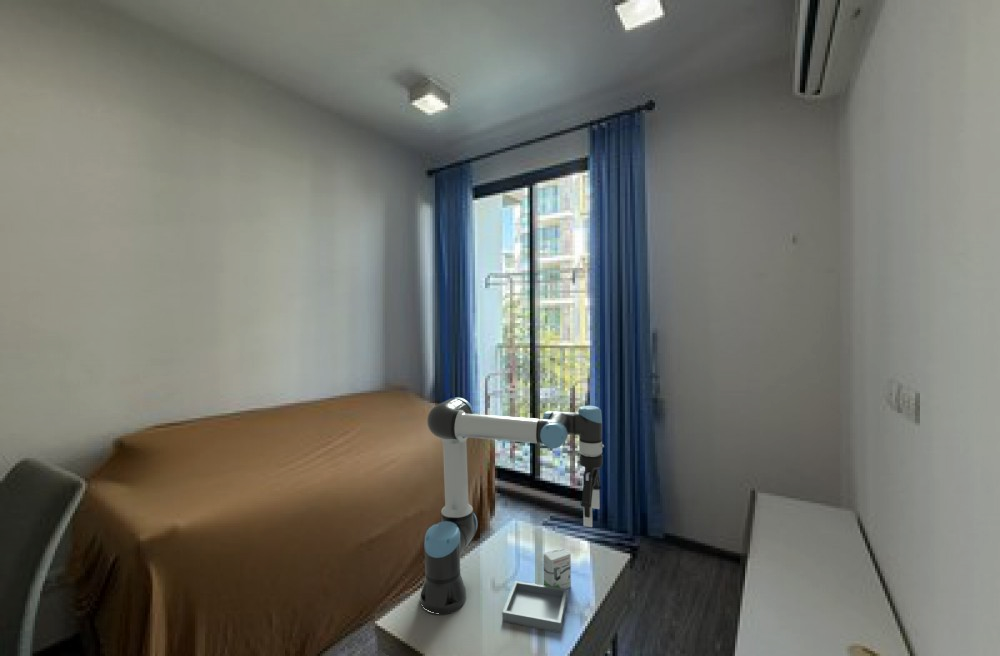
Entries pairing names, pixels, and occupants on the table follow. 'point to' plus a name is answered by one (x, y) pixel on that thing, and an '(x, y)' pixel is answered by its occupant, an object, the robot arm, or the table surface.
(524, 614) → the parts tray
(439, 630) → the table surface
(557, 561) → the ink box
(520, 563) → the table surface
